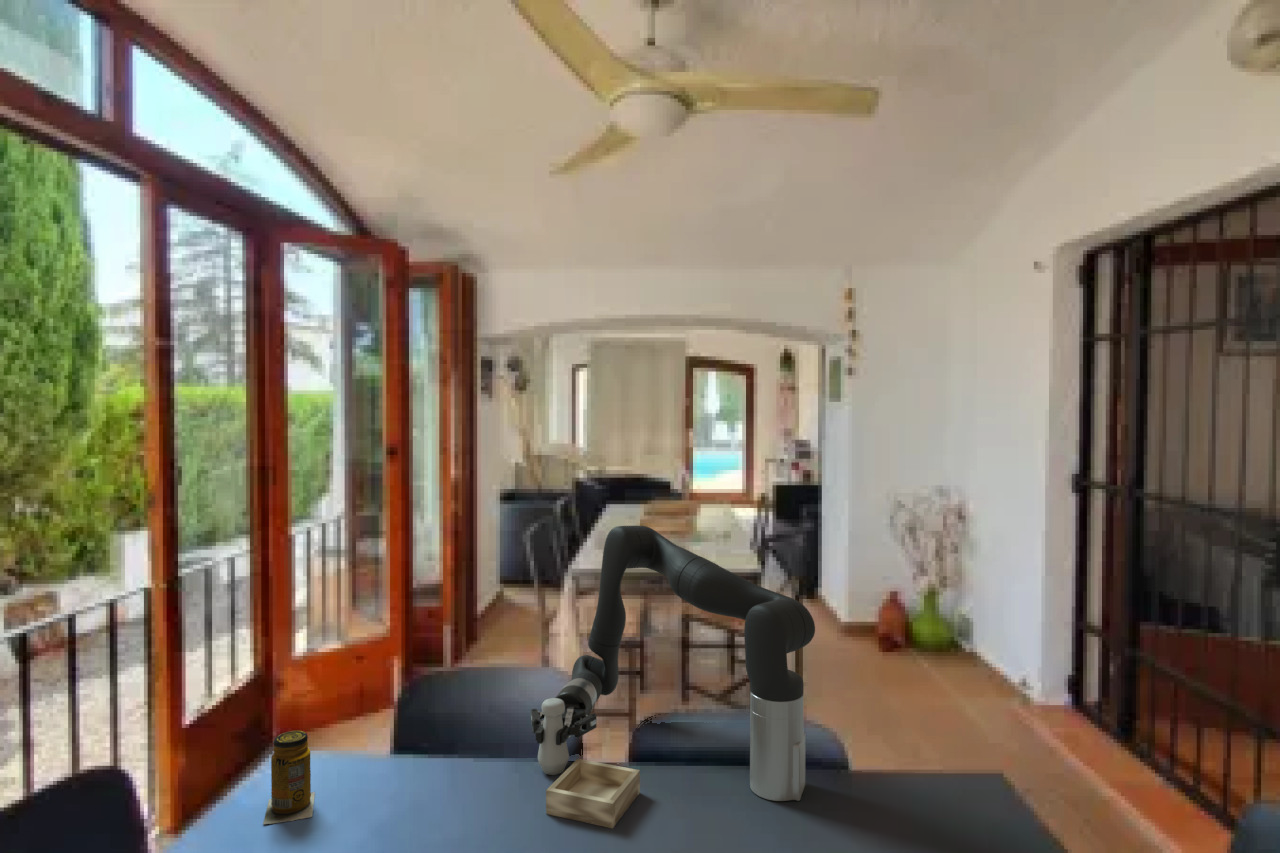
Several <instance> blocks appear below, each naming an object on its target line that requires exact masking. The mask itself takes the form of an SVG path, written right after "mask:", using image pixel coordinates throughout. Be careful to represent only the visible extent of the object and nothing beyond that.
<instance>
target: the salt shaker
mask: <svg viewBox="0 0 1280 853" xmlns="http://www.w3.org/2000/svg"><path fill="white" fill-rule="evenodd" d="M564 711H565V704H564V701H563V700H561V699H558V698H555V697H552V698H551V697H550V698H546V699H545V700H543V702H542V703H541V712H542V713H543V715H545V716H544V719H543V720H544V722H543V728H544V733H543V742H542V744H539V747H538V752H537V762H538V763H539V766H540V767H541V769H542V772H543V773H544V774H545V775H551V776H556V775H559V774H563V773H564V772H565V770H566V769H565V768H566V766H567V764H568V763H569V760H570V754H569V748H568V745H567V740H566V741H565V742H564V743H562V744H561V745H556V734H557V732H558V731H559V730H560V729H562V728H563V720H562V714H563V713H564Z"/></svg>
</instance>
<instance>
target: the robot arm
mask: <svg viewBox="0 0 1280 853" xmlns="http://www.w3.org/2000/svg"><path fill="white" fill-rule="evenodd" d="M629 569H649V570H651V571H654V572H656V573H659V574H661V575H663V576H664V577H665V578H667V581H668V582H667V583H668V584H669V587H670V589H671V590H672V592H673V593H674V594H675V596H677V597H679V598H681V600H683V601H685V602H687V603H688V604H690V605H692V606H693V607H695V608H697V609H699V610H702V611H704V612H706V613H707V612H708V613H711V614H715V615H719V616H720V615H721V616H725V617H728V618H729V617H730V618H736V619H741V620H744V628H743V629H744V631H743V634H744V637H743V638H744V654H745V670H746V675H747V677H748V681H749V684H750V685H749V687H750V688H749V689H750V690H749V691H750V693H749V695H750V696H749V697H750V698H749V699H750V701H749V702H750V707H749V708H750V709H749V710H750V712H749V713H750V714H749V719H750V722H749V725H750V726H749V734H750V735H749V747H750V748H749V788H750V789H751V792H753V793H754V794H755V795H756V796H758V797H760V798H762V799H765V800H768V801H774V802H786V801H798V802H799V801H800V800H801V799H802V797H803V796H802V795H803V792H804V790H805V787H806V732H804V679H803V677H802V676H801V674H800V673H798V672H796V671H794V670H790V669H789V668H788V658H787V657H788V656H787V654H790V653H793V652H795V651H798V650H800V649H802V648H804V647H806V646H807V645H808V644H810V642H811V641H812V640H813V638H814V637H815V633H816V624H815V620H814V617H813V616H812V613H811V612H810V611H809V610H808V608H807V607H806V606H805V605H804V604H803V603H802V602H800V601H798V600H797V599H795V598H792V597H791V596H787V595H784V594H782V593H779V592H776V591H774V590H770V589H767V588H765V587H762V586H760V585H758V584H755V583H753V582H751V581H749V580H747V579H746V578H744V577H742V576H740V575H737V574H736V573H734V572H731V571H730V570H728V569H726V568H724V567H722V566H720V565H718V564H717V563H716V562H713V561H711V560H709V559H707V558H705V557H703V556H700V555H698V554H696V553H694V552H692V551H690V550H687V548H686V549H685V548H684V547H681V546H679V545H677V544H675V543H674V542H672V541H670V539H668V538H666V537H664V535H662V534H660V533H659V532H658V531H656V530H654V529H653V528H651V527H650V526H649V527H648V526H645V525H618V526H614V527H613V528H612V529H610V530H609V532H608V534H607V535H606V538H605V541H604V546H603V552H602V562H601V571H600V580H599V581H600V582H599V590H598V598H597V599H598V600H597V605H596V612H595V615H594V618H593V622H592V625H591V630H590V634H589V637H588V643H587V644H588V648H589V650H591V652H593V653H594V654H595V655H597V657H595V656H593V655H589V654H583V655H581V656H579V657H578V658H577V659H575V662H574V664H573V667H572V671H571V680H569V682H568V683H566V684H565V685H564V686H562V688H561V690H560V691H559V692H558V693H557V695H556V696H555V697H554V698H558V699H561V700H563V701H564V704H565V711H564V713H563V714H562V720H563V728H562V729H560V730H559V731H558V732H557V734H556V745H561V744H562V743H564V742H565V741H566V742H567V740H568V739H569V738H571V737H572V736H574V737H575V738H580V737H582V736H584V735H586V734H588V733H589V732H591V731H593V730H595V729H596V728H597V720H598V719H597V714H596V713H592V711H593V710H594V708H595V705H596V703H597V702H598V700H599V698H601V696H609V695H610V694H612V693H613V692H614V691H615V690H616V688H617V685H618V682H619V675H620V674H619V650H620V646H621V641H622V639H623V635H624V631H625V627H626V621H627V617H626V616H627V615H626V608H625V604H624V600H623V596H622V592H621V590H622V588H621V586H622V581H623V577H624V575H625V572H626V570H629ZM598 657H600V658H601V659H600V658H598ZM544 716H545V715H543V713H542V711H540V710H538V709H537V708H532V709H531V710H530V722H531V723H530V724H531V729H532V733H533V734H535V737H534V738H535V741H536V743H537V744H539V745H540V744H542V742H543V733H544V728H543V722H544Z"/></svg>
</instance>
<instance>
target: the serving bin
mask: <svg viewBox="0 0 1280 853" xmlns="http://www.w3.org/2000/svg"><path fill="white" fill-rule="evenodd" d="M640 774H641V770H640V769H635V768H631V767H625V766H618V765H614V764H609V763H604V762H597V761H593V760H587V759H583V758H582V759H580V758H577V759H576V760H575V761H573V763H572V764H571V765H570V766H569V767H568V768H567V769H565V770H564V771H563V772H562V773H561V775H560V776H558V778H557V779H556V780H555V781H554V782H552V784H551V785H550V786H549V787H548V788H547V789H546V790H545V811H546V812H545V815H548V816H549V815H550V816H553V817H554V816H555V817H558V818H564V819H569V820H572V821H577V822H581V823H587V824H591V825H596V826H599V827H600V826H601V827H604V828H610V829H614V828H615V826H617V825H616V824H618V822H619V821H620V819H622V817H623V815H624V814H625V813H626V811H627V810H628V809H629V808H630V806H631V805H632V804H633V802H634V801H635V800H636V799H637V797H638V796H639V795H640V793H641V789H640V788H641V787H640V786H641V775H640Z"/></svg>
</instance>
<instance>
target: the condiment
mask: <svg viewBox="0 0 1280 853" xmlns="http://www.w3.org/2000/svg"><path fill="white" fill-rule="evenodd" d="M308 740H309V737H308V733H307V732H306V731H303V730H291V731H286V732H285V731H284V732H282V733H280V734H279V735H277V736H276V737H275V738H274V740H273V743H272V744H273V750H272V751H273V754H272V755H271V758H270V765H271V766H270V769H271V770H270V771H271V772H270V774H271V777H270V778H271V780H270V782H271V785H270V786H271V788H270V790H271V793H270V794H271V798H269V799H268V801H267V806H266V811H265V814H264V819H263V822H262V825H268V824H269V825H271V824H278V823H284V822H285V823H286V822H293V821H296V820H305V819H306V818H312V817H313V811H314V804H315V795H316V792H315V791H313V792H311V790H312V789H311V787H312V786H311V785H312V783H311V781H312V780H311V778H312V777H311V776H312V775H311V772H312V771H311V749H310V748H309V741H308Z"/></svg>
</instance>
